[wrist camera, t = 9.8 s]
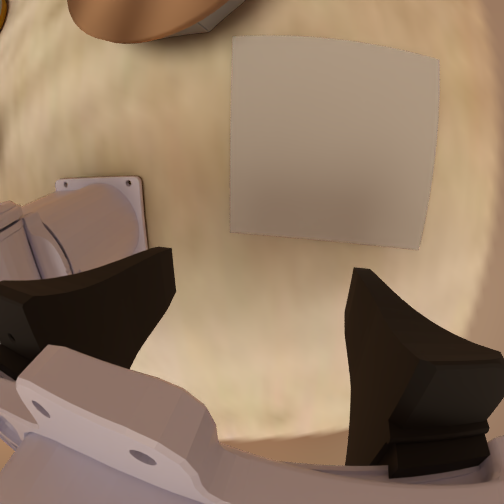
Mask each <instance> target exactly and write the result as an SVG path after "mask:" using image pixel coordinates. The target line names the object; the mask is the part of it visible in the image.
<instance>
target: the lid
mask: <svg viewBox="0 0 504 504" xmlns="http://www.w3.org/2000/svg"><path fill="white" fill-rule="evenodd" d="M228 1H229V0H67V2H68V8H69V12H70V14H71V17H72V19H73V20H74V22H75V24H76V25H77V26H78V27H79V28H80V29H81V30H82V31H84V32H85V33H86V34H88V35H90V36H93V37H95V38H98V39H102V40H106V41H110V42H114V43H123V44H131V43H142V42H149V41H153V40H157V39H161V38H164V37H166V36H169V35H172V34H175V33H177V32H179V31H182V30H184V29H186V28H188V27H190V26H192V25H194V24H196V23H198V22H199V21H201V20H203V19H204V18H206V17H207V16H209V15H210V14H212V13H214V12H215V11H216V10H218V9H219V8H220V7H221V6H223V5H224V4H225V3H227V2H228Z"/></svg>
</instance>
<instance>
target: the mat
mask: <svg viewBox="0 0 504 504" xmlns="http://www.w3.org/2000/svg"><path fill="white" fill-rule="evenodd" d="M439 96H440V60H439V59H436V58H432V57H428V56H425V55H421V54H417V53H413V52H409V51H405V50H400V49H395V48H391V47H386V46H380V45H375V44H369V43H363V42H356V41H349V40H340V39H331V38H321V37H307V36H285V35H250V36H233V42H232V77H231V129H230V232H231V233H244V234H256V235H267V236H279V237H290V238H301V239H312V240H323V241H333V242H344V243H354V244H364V245H374V246H384V247H393V248H403V249H412V250H419V247H420V242H421V238H422V233H423V229H424V224H425V219H426V214H427V208H428V203H429V197H430V191H431V184H432V177H433V170H434V162H435V153H436V144H437V132H438V118H439Z"/></svg>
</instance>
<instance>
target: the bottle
mask: <svg viewBox="0 0 504 504" xmlns="http://www.w3.org/2000/svg"><path fill="white" fill-rule="evenodd" d="M6 12H7V4H6V1H5V0H0V30H1V28H2V25H3V23H4V20H5V17H6Z"/></svg>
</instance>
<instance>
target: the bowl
mask: <svg viewBox="0 0 504 504" xmlns="http://www.w3.org/2000/svg"><path fill="white" fill-rule="evenodd" d="M244 1H245V0H229V1H228V2H227V3H225V4H224V5H223V6H221V7H220V8H219V9H218V10H216V11H215V12H214V13H212V14H210V15H209V16H207V17H206V18H204V19H203V20H201V21H199V22H198V23H196V24H194V25H192V26H190V27H188V28H186V29H184V30H182V31H179V32H177V33H175V34H172V35H169V36H166V37H164V38H167V37H173V36H180V35H187V34H195V33H204V32H210V31H211V30H212V29H213V28H214V27H215V26H216V25H217V24H218V23H220V22H221V21H222V20H223V19H224V18H225V17H226V16H227V15H229V14H230V13H231V12H232V11H233V10H234V9H236V8H237V7H238V6H239V5H240V4H242V3H243V2H244Z"/></svg>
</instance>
